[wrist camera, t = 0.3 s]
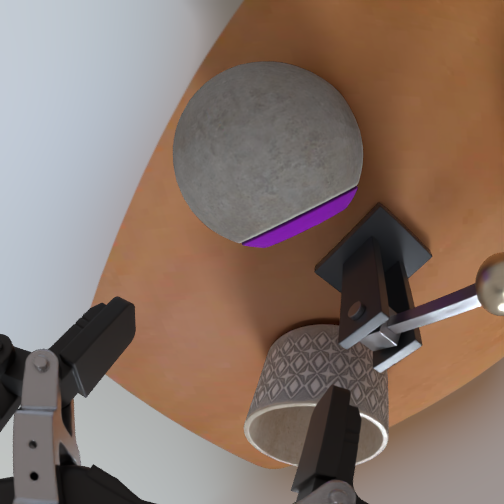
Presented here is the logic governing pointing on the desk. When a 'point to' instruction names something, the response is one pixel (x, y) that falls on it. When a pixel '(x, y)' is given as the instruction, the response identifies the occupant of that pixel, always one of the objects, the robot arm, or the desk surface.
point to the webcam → (267, 153)
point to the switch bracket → (375, 281)
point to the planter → (315, 392)
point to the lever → (446, 305)
